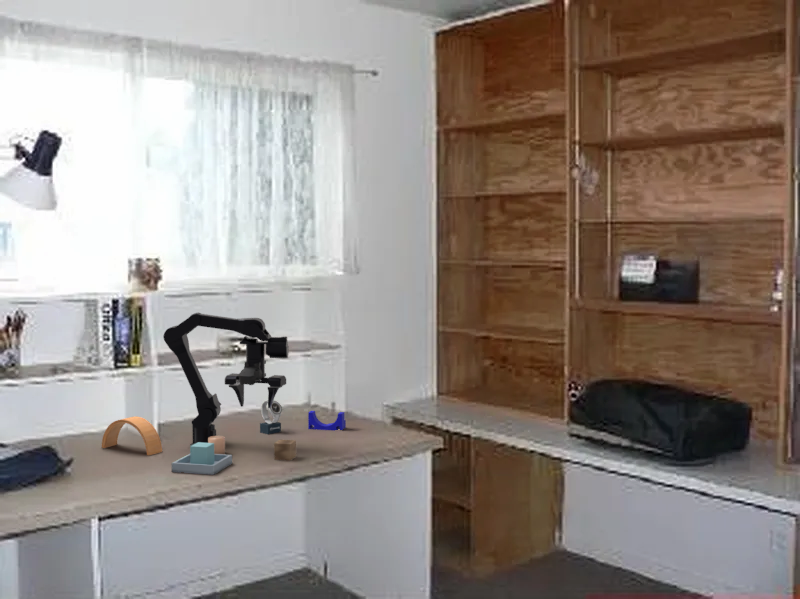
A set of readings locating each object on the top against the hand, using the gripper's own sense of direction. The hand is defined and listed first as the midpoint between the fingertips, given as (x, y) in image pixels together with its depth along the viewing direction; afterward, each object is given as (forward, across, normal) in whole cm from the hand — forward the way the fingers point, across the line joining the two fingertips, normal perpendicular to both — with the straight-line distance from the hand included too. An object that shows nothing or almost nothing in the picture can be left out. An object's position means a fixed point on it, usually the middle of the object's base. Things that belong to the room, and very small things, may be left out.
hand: (255, 407), depth 276 cm
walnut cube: (+12, +15, -14) cm, 24 cm away
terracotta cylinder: (+12, -7, -14) cm, 20 cm away
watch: (+12, -2, +18) cm, 22 cm away
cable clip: (+12, +15, +28) cm, 34 cm away
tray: (+12, -4, -30) cm, 33 cm away
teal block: (+11, -4, -30) cm, 32 cm away
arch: (+12, -35, -16) cm, 40 cm away
